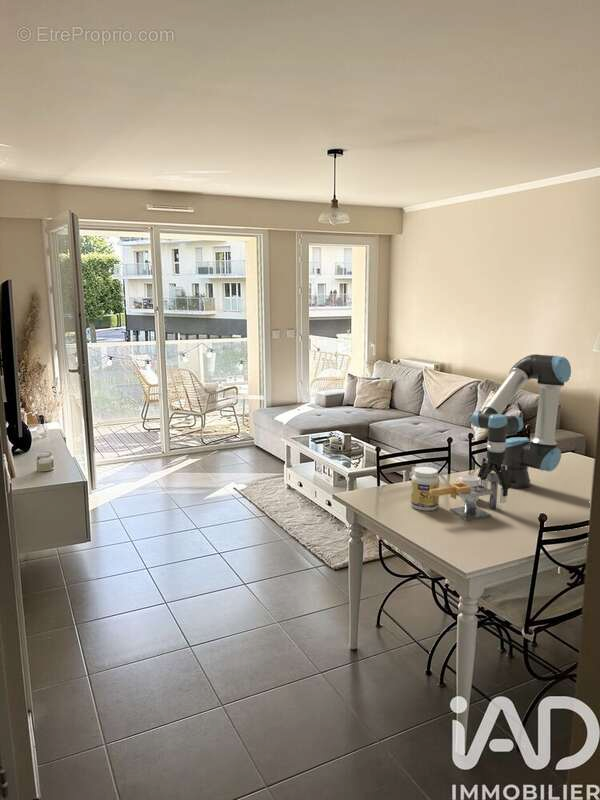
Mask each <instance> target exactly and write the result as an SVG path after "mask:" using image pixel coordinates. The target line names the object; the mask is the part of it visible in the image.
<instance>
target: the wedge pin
mask: <svg viewBox="0 0 600 800" xmlns="http://www.w3.org/2000/svg"><path fill="white" fill-rule="evenodd" d="M487 481H488V482H490V485H489V487H490V488H489V489H490V490H492V491H493V494H490V495H489V507H488V509H489V510H491V511H496V510H497V507H498V505H497V502H498V489H499V487H498V485H499V483H498V481H500V480H499V478H498V475H497V474H496V472H491V473H490V474H488V477H487Z"/></svg>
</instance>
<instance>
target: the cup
mask: <svg viewBox="0 0 600 800" xmlns="http://www.w3.org/2000/svg"><path fill="white" fill-rule="evenodd" d="M460 482H462V483H464V484H465V483H472V482H474V483H477V484H479V485H481V479H480V477H478V476H476V475H469V474H468V475H462V476H461V477H457V479H456V480H455V483H460ZM479 497H480V496H478V497H477V500H476V502H478V501H479V500H480V499H479ZM459 498H460V500H462V501H463V502H465V499H463V498H461V497H459Z"/></svg>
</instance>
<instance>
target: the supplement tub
mask: <svg viewBox="0 0 600 800" xmlns="http://www.w3.org/2000/svg"><path fill="white" fill-rule="evenodd" d="M438 471H439V470H438V469H436V468H434V467H430V466H429V467H428V466H418V467H415V468H414V469H413V475H412V476H411V483H410V484H411V485H410V486H411V487H410V488H411V490H410V505H411V506H412V508H414V509H416V510H418V511H423V512H424V511H426V512H427V511H434V510H436V509H437V508H438V507H439V502H440V501H439V498H440V496H434V497H431V496H430V494H429V491H430V490H431V489H438V488H440V477H439V472H438Z"/></svg>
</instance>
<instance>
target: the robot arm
mask: <svg viewBox="0 0 600 800" xmlns="http://www.w3.org/2000/svg"><path fill="white" fill-rule="evenodd" d="M571 375H572V368H571V363H570V361H569V360H568V359H567V357H564V356H560V355H548V354H547V355H546V354H530V355H527V356H525V357H523V358H521V359H520V360H518V361H517V362H516V363H515V364H514V365H513V366H512V367H511V368H510V370H509V372H508V376H507V377H506V379H504V381H503V382H502V383H501V385H500V386H499V388H497V391H496V392H495V393H494V394H493V396H492V397H491V399H489V401H487V403H486V405H485V406H484V408H483V409H482V410H476V411H474V412H473V413H472V415H471V418H470V421H471V424H472V425H473V426H474V427H476V428H479V429H485V430H487V450H486V457H483V458H482V462H481V465H480V469H479V471H478V473H477V477H479V478H480V485H481V486H483V487H486V488H488V482H489V481H487V478H488V474H490V473H492V472H493V473H496V474H497V475H498V478H499V480H500V481H498V485H499V486H500V485H501V488H500V495H499V503H500V504H506V503H507V497H508V492H509V489H526V488H529V487H530V486H531V479H530V475H529V472H528V468H532V469H535V470H536V469H537V470H540V471H543V472H552V471H554V470H555V469H557V467H558V466H559V464H560V462H561V459H562V451H561V449H560V448H559V447H558V443H557V441H556V440H555V437H556V434H555V433H556V429H557V428H556V426H557V419H558V418H557V417H558V411H559V410H558V409H559V400H560V394H561V389H562V388H563V387H565V383H567V382H568V381H569V380H570V378H571ZM532 379H533V380H537V385H538V386H539V396H538V403H537V404H538V405H537V411H536V412H537V413H536V414H537V415H536V422H535V431H534V432H535V433H534V437H533V438H531V440H530V439H529V438H528V437H522V436H521V437H520V436H518V437H509V438H507V436H508V435H511V434H516V433H518V432H520V431H522V429H523V428H524V421H523V419H522V417H521V416H518V415H505V414H502V413H503V411H504V410H505V408H507V406H508V404H509V403H510V402H511V401H512V399H514V397H515V395H516V394H517V392H518V391H519V390H520V388H521V387H522V386H523V385H525V384H527V383H528V382H529V381H530V380H532Z"/></svg>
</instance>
